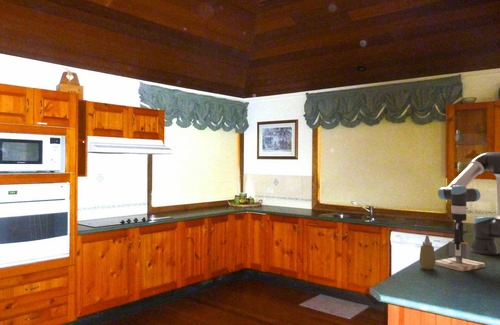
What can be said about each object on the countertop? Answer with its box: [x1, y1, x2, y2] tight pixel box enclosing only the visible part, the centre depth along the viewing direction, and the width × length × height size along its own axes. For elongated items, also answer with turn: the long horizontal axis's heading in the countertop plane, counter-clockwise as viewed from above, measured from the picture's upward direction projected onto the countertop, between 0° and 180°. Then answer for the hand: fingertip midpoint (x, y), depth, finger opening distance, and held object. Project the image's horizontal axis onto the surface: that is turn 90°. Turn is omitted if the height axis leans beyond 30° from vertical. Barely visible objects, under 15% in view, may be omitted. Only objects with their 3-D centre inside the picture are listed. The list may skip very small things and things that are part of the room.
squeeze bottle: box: [418, 234, 436, 271], centre depth 215 cm, size 8×8×18 cm
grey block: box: [448, 240, 471, 260], centre depth 221 cm, size 10×4×8 cm, turn 31°
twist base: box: [434, 257, 486, 272], centre depth 221 cm, size 20×17×4 cm
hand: (458, 254), depth 221 cm, fingers closed on grey block, 5 cm apart
